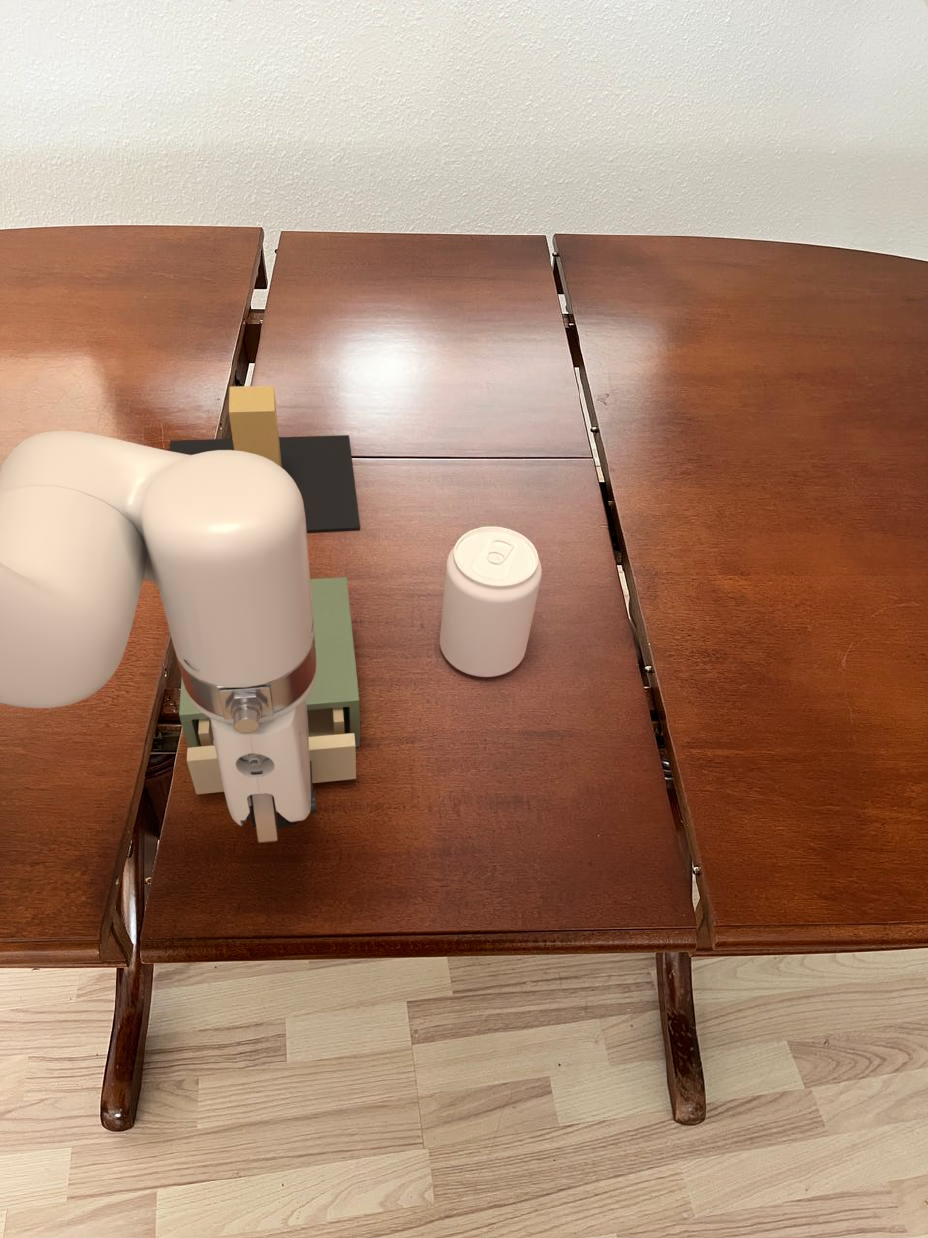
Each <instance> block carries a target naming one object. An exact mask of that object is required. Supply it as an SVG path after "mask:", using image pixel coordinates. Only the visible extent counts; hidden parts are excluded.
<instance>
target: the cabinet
mask: <svg viewBox="0 0 928 1238" xmlns="http://www.w3.org/2000/svg"><path fill="white" fill-rule="evenodd" d="M310 583H311V598H312V610H313V622H314V636H315V649H316V659H317V675H316V680H315V683H314V685H313V687H312V690H311V691H310V693H309V694H308V696H307V697H306V706H307V710H315V709H327V708H339V707H343V715H344V734H349V733H354V735H355V745H356V748H360V747H361V712H360V709H361V708H360V692H359V682H358V673H357V672H358V671H357V662H356V653H355V651H356V650H355V641H354V633H353V622H352V613H351V603H350V593H349V585H348V583H349V582H348V576H344V577H343V576H342V577H325V578H324V577H321V578H310ZM178 710H179V711H178V717H179V719H180V720H179V721H180V723H181V727H182V731H183V734H184V737H185V741H186V744H187V748H190V747H202V746H201V742H200V738H199V734H198V729H199V719H206V718H210V717H208V716H207V715H205V714H204V713H202V712H201V711H199V710H198V709H197V708H196V707H195V706H194V705H193V703H192V702H191V701H190V699H189V697H188V695H187V693H186V691H185V687H184V683H183V679H182V676H181V679H180V695H179V709H178Z"/></svg>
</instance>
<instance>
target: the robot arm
mask: <svg viewBox="0 0 928 1238" xmlns="http://www.w3.org/2000/svg"><path fill="white" fill-rule="evenodd" d="M310 579H311V572H310V559H309V546H308V533H307V531H306V518H305V511H304V504H303V499H302V496H301V493H300V491H299V489H298V487H297V485H296V483H295V482H294V480H293V479H292V478H291V476H290V475H289V474H288V473H287V472H286V471H285V470H284V469H283V468H281V467H280V466H279V465H277V464H276V463H275V462H273V461H271V460H269V459H267V458H265V457H262V456H260V455H257V454H253V453H248V452H244V451H235V450H216V451H207V452H203V453H199V454H194V455H187V454H182V453H177V452H172V451H169V450H166V449H161V448H158V447H153V446H149V445H144V444H140V443H135V442H132V441H127V440H123V439H119V438H114V437H110V436H106V435H101V434H97V433H92V432H91V433H90V432H85V431H77V430H64V429H63V430H50V431H45V432H44V431H43V432H40V433H36V434H33V435H31V436H29V437H26V438H25V439H23V440H22V441H21V442H19V443H18V444H17V445H16V446H15V447H14V448H13V449H12V450H11V451H10V452H9V454H8V455H7V456H6V458H5V459H4V461H3V463H2V465H0V704H4V705H8V706H12V707H17V708H25V709H26V708H27V709H56V708H61V707H65V706H66V707H67V706H70V705H74V704H76V703H80V702H81V701H84V700H86V699H88V698H90V697H92V696H93V695H94V694H97V692H99V691H100V690H101V689H102V688H103V687H104V686H106V685H107V683H108V682H109V681H110V679H111V678H112V677H113V676H114V674H115V673H116V671H117V670H118V668H119V666H120V664H121V663H122V660H123V658H124V655H125V651H126V648H127V645H128V641H129V638H130V635H131V631H132V627H133V623H134V619H135V615H136V611H137V607H138V603H139V598H140V594H141V589H142V586H143V581H149V582H151V583H153V584H154V585H155V587H157V590H158V594H159V598H160V601H161V605H162V608H163V613H164V616H165V620H166V623H167V627H168V631H169V636H170V637H171V642H172V645H173V649H174V653H175V656H176V661H177V664H178V669H179V672H180V675H181V677H182V679H183V683H184V687H185V691H186V693H187V695H188V697H189V699H190V701H191V702H192V703H193V705H194V706H195V707H196V708H197V709H198V710H199V711H201V712H202V713H204V714H205V715H207V716H208V717H210V721H211V727H212V732H213V738H214V741H213V744H214V746H215V749H216V754H217V760H218V765H219V770H220V775H221V779H222V784H223V788H224V792H223V793H224V796H225V801H226V805H227V808H228V812H229V814H230V817H231V818H232V820H233V822H235V823H236V824H237V825H238V826H240V827H243V825H244V823H248V822H247V821H248V820H247V816H248V814H249V813H250V816H251V819H250V820H251V826H252V827H253V828H254V829H256V836H257V842H258V844H265V843H275V842H279V830H282V829H285V828H286V827H287V826H294V825H297V824H298V823H299V822H301V821H305V820H306V819H307V818H308V816H309V815H310V814H311V813H310V810H311V783H310V756H309V734H308V716H307V706H306V697H307V696H308V694H309V693H310V691H311V690H312V687H313V685H314V683H315V680H316V675H317V659H316V649H315V636H314V622H313V610H312V598H311V583H310Z"/></svg>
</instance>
